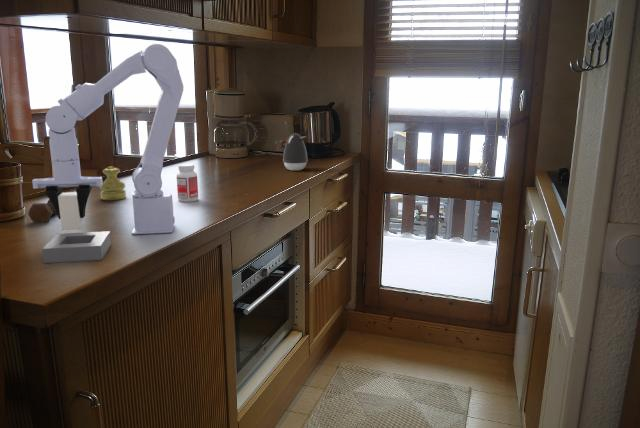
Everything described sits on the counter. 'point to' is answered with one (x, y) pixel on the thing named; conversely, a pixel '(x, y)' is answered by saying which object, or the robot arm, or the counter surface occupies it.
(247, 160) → the counter surface
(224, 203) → the counter surface
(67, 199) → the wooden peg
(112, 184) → the yellow chess piece
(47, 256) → the socket block
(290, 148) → the pump dispenser
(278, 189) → the counter surface
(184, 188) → the pill bottle
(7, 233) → the counter surface
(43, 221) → the bolt
